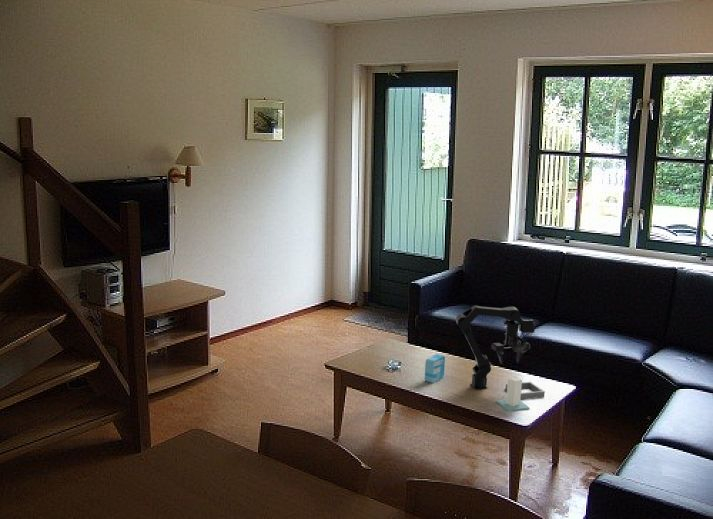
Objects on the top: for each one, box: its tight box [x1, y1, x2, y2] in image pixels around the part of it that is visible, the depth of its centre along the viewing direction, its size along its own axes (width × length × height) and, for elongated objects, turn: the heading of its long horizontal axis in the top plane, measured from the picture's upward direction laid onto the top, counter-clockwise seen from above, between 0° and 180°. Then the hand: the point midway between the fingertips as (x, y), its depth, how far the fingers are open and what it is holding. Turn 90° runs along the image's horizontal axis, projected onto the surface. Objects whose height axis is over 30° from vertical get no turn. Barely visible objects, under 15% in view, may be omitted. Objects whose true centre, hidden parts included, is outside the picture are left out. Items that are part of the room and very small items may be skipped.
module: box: [505, 376, 523, 406], centre depth 325 cm, size 4×4×12 cm
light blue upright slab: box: [424, 354, 446, 384], centre depth 355 cm, size 12×4×12 cm, turn 142°
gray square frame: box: [505, 381, 546, 400], centre depth 343 cm, size 14×13×2 cm
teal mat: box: [496, 399, 530, 412], centre depth 327 cm, size 11×11×1 cm
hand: (509, 362), depth 346 cm, fingers open, 9 cm apart
